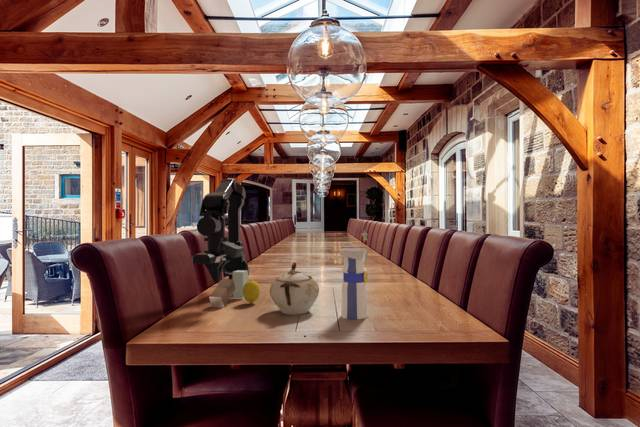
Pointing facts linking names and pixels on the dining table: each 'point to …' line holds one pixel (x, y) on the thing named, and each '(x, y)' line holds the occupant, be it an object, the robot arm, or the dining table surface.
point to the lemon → (251, 291)
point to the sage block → (239, 283)
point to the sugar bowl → (294, 292)
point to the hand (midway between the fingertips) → (216, 283)
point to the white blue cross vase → (354, 283)
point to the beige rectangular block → (222, 293)
